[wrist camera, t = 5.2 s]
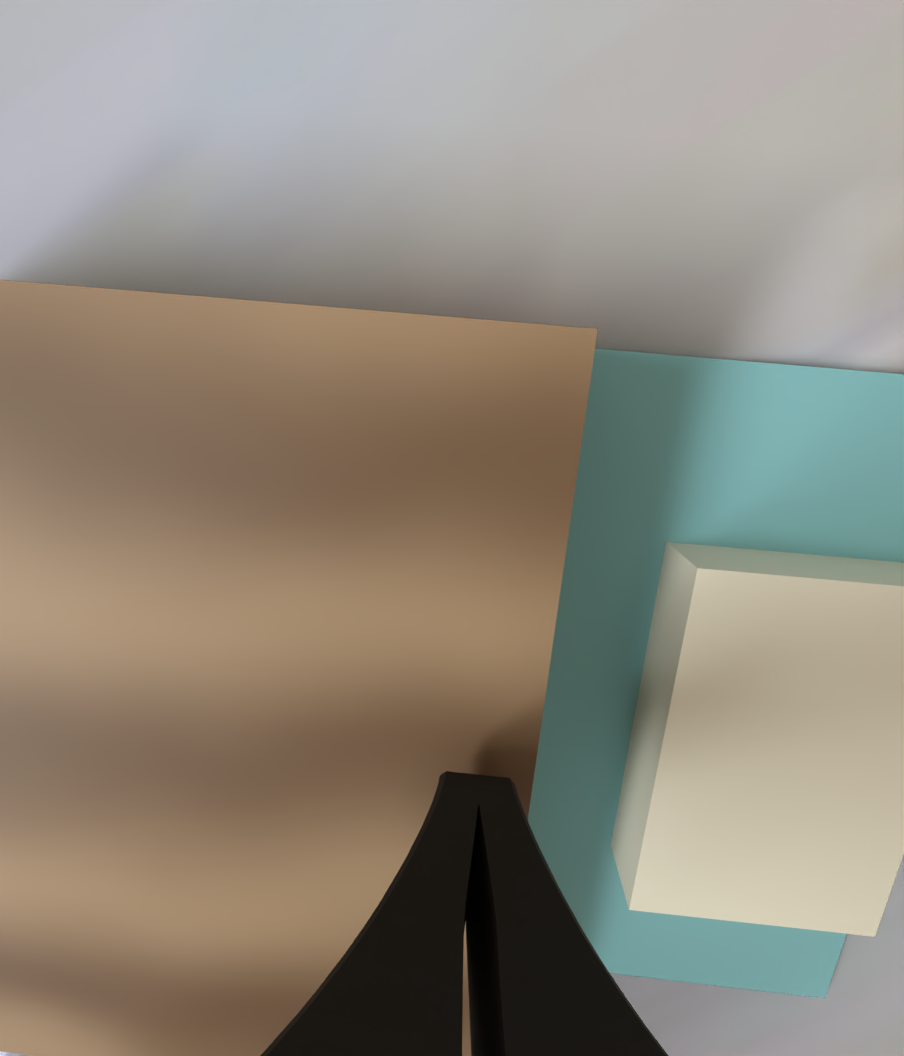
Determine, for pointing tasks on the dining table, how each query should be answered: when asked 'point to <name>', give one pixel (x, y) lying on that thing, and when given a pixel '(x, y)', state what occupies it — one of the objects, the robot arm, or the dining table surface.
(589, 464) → the mat
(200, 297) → the wooden block
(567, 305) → the dining table surface
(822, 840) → the cream bevelled block
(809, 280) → the dining table surface
